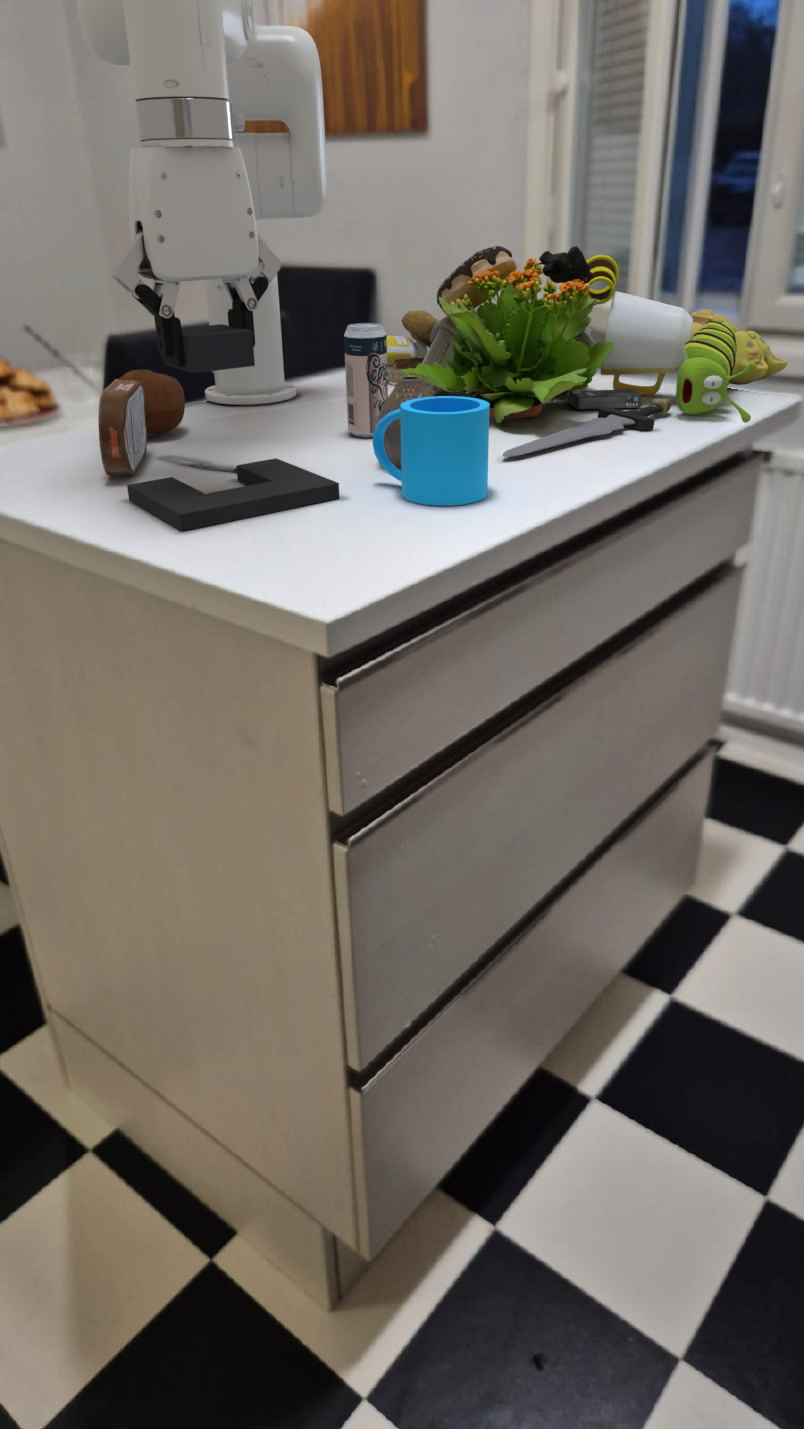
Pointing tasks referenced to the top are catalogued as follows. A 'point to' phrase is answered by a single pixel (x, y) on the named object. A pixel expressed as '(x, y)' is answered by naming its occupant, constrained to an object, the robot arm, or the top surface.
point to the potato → (160, 400)
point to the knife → (212, 468)
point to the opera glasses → (601, 277)
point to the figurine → (743, 350)
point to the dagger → (598, 426)
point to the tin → (122, 427)
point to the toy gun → (565, 266)
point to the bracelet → (402, 367)
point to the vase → (402, 392)
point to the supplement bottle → (404, 348)
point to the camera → (441, 347)
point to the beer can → (365, 376)
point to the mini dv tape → (604, 399)
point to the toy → (708, 370)
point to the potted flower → (518, 343)
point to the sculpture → (419, 325)
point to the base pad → (234, 495)
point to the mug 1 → (439, 449)
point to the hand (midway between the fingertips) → (209, 359)
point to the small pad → (216, 348)
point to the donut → (475, 264)
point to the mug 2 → (644, 339)
